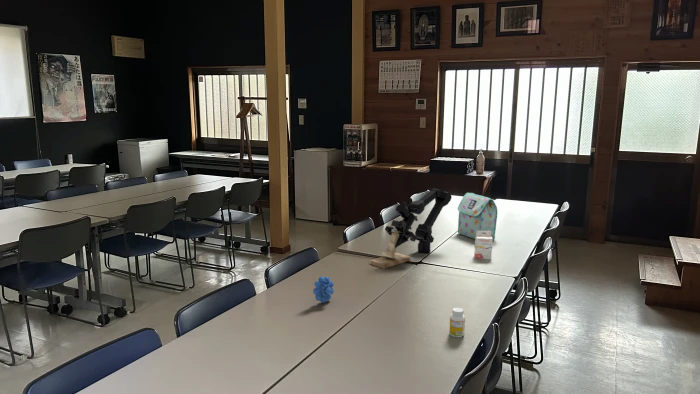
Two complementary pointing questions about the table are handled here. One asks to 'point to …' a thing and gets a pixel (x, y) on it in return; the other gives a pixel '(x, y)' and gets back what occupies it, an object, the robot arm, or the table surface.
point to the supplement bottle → (457, 323)
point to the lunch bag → (476, 215)
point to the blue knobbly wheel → (323, 289)
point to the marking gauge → (392, 245)
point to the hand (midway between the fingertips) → (392, 246)
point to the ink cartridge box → (483, 245)
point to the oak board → (390, 260)
